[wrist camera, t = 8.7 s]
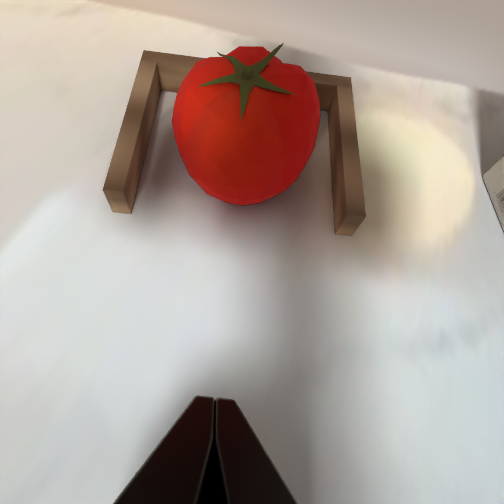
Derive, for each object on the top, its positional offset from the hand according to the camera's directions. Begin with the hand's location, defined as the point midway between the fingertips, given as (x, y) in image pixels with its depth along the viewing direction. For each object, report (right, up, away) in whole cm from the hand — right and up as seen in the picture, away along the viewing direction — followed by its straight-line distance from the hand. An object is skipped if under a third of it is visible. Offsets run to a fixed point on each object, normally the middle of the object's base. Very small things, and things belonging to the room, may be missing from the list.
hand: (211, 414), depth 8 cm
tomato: (0, +9, +19) cm, 21 cm away
